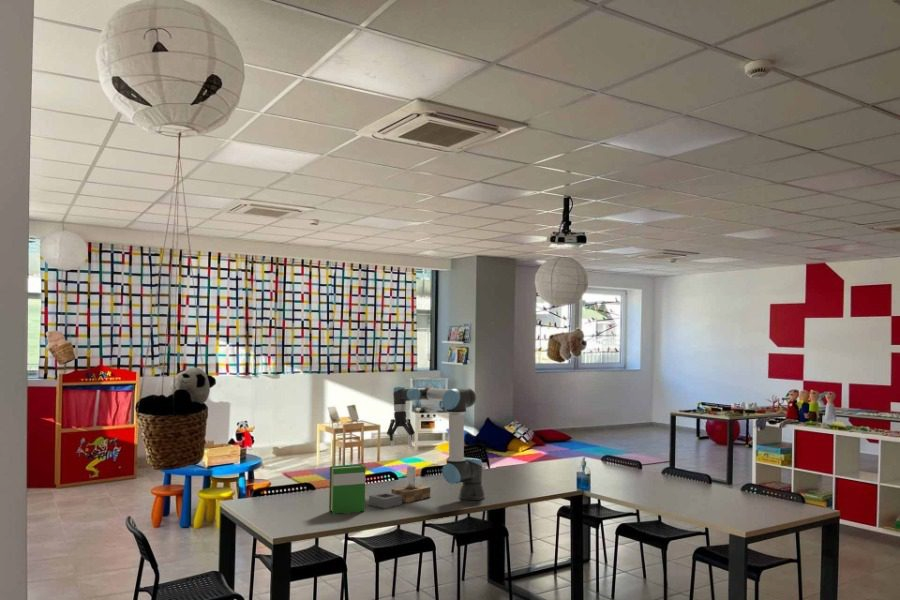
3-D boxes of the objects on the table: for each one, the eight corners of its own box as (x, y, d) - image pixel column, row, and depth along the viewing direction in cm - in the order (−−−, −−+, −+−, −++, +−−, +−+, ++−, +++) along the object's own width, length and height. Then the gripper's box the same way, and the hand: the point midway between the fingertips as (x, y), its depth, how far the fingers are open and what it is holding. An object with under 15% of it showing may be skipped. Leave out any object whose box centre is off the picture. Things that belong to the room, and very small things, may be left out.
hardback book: (332, 514, 361) (333, 468, 363) (329, 511, 368) (330, 466, 370) (364, 511, 369) (365, 466, 370) (360, 508, 375) (361, 464, 377)
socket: (401, 504, 385) (401, 495, 385) (384, 508, 375) (384, 499, 376) (386, 501, 394) (386, 492, 394) (368, 504, 384) (369, 495, 385)
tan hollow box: (430, 497, 404) (430, 487, 404) (405, 503, 389) (405, 492, 390) (415, 494, 412) (416, 484, 412) (391, 499, 397) (391, 489, 398)
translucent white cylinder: (416, 498, 401) (417, 467, 402) (410, 499, 397) (411, 468, 398) (411, 497, 404) (411, 466, 405) (404, 498, 401) (405, 467, 402)
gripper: (411, 412, 441) (413, 445, 436) (380, 411, 425) (381, 446, 420) (419, 411, 436) (420, 445, 431) (387, 410, 419) (388, 446, 414)
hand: (401, 446), depth 425 cm, fingers open, 13 cm apart
